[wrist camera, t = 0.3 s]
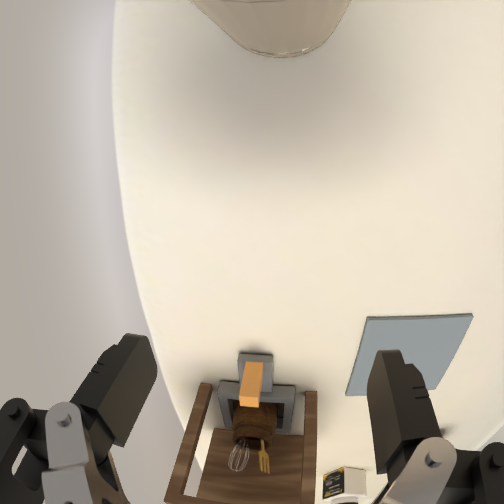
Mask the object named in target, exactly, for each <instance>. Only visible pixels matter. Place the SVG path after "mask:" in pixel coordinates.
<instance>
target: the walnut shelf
mask: <svg viewBox="0 0 504 504" xmlns="http://www.w3.org/2000/svg"><path fill="white" fill-rule="evenodd" d="M211 394H212V386H211V384H205V383H200V387H199V390H198V393H197V396H196V399H195V402H194V405H193V409H192V412H191V415H190V418H189V421H188V424H187V428H186V431H185V434H184V437H183V440H182V443H181V447H180V450H179V453H178V456H177V459H176V463H175V466H174V469H173V472H172V476H171V479H170V482H169V485H168V488H167V492H166V495H165V498H164V502H165V503H166V504H314V502H315V483H316V457H317V391H306V395H305V416H304V436H293V435H272V436H271V437H272V442H271V445H270V447H268V448H267V449H265V452H266V453H267V454H268V456H269V468H270V474H268V472H267V465H266V473H265V472H264V467H263V471H261V470H260V462H259V453H258V452H259V451H262V450H248V449H247V452H246V449H243V448H241V447H239V448H238V446H237V445H235V444H234V443H233V440H232V435H233V432H234V431H230V430H222V429H215V428H214V430H213V434H212V438H211V442H210V446H209V450H208V454H207V458H206V462H205V465H204V469H203V473H202V477H201V481H200V485H199V489H198V493H197V497H191V496H186V495H183V494H184V490H185V486H186V483H187V479H188V476H189V472H190V468H191V465H192V461H193V458H194V454H195V451H196V447H197V444H198V440H199V436H200V433H201V429H202V426H203V422H204V419H205V415H206V412H207V408H208V404H209V401H210V397H211ZM234 448H236V449H234ZM233 449H234V450H235V451H234V450H233ZM242 449H243V450H242ZM236 450H237V451H236ZM240 450H241V451H240ZM232 451H233V452H234V453H233V452H232ZM235 452H236V453H235ZM239 452H240V454H239ZM231 453H232V454H231ZM241 453H242V454H241ZM234 454H235V455H234ZM230 455H231V456H230ZM232 455H233V456H232ZM238 455H239V456H238ZM245 455H247V457H246V456H245ZM248 455H249V457H248ZM240 456H241V457H240ZM233 457H234V458H233ZM229 458H230V459H229ZM231 458H232V459H231ZM237 458H238V459H237ZM244 458H245V459H246V460H245V459H244ZM239 459H240V460H239ZM232 460H233V461H232ZM247 460H248V461H247ZM230 461H231V463H232V465H231V466H230ZM236 461H237V462H236ZM243 461H244V462H245V463H244V462H243ZM228 462H229V465H228ZM238 462H239V463H238ZM246 462H247V463H246ZM242 464H243V465H244V466H243V465H242ZM235 465H236V466H235ZM237 465H238V466H237ZM245 465H246V466H245ZM262 465H263V459H262ZM231 467H232V469H233V470H232V469H231ZM240 467H241V468H240ZM242 467H243V468H244V469H243V468H242ZM239 468H240V469H239ZM234 469H235V470H236V471H234ZM238 469H239V470H240V471H239V470H238Z"/></svg>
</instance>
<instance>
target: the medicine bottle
mask: <svg viewBox="0 0 504 504" xmlns="http://www.w3.org/2000/svg"><path fill="white" fill-rule="evenodd" d="M365 496H366V471H365V470H360V469H354V468H347V467H342V468H340V469H338V470H335V471H333V472H331V473H328V474H326V475H324V476H323V501H328V502H332V503H331V504H358V500H357V499H359V498H362V497H365Z"/></svg>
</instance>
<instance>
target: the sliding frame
mask: <svg viewBox="0 0 504 504" xmlns="http://www.w3.org/2000/svg"><path fill="white" fill-rule="evenodd" d="M237 362H238V371H239V380H240V383H234V382H225V381H220V384H219V388H218V392H217V394H218V398H219V403H220V407H221V411H222V416H223V420H224V424H225V427H228V428H233V418H234V408H233V402H232V399H235V400H239V401H240V406H248V407H259V402H271V403H285V405H284V417H283V418H277V422H276V429H275V432H287V433H290V430H291V423H292V415H293V407H294V399H295V387H294V386H273V356H266V355H251V354H239V356H238V360H237Z"/></svg>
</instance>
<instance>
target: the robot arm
mask: <svg viewBox="0 0 504 504" xmlns="http://www.w3.org/2000/svg"><path fill="white" fill-rule="evenodd" d="M189 1H190V2H191V3H192V4H194V5H195V6H196V7H197V8H199V9H200V10H201V11H202V12H203V13H204V14H206V15H207V16H208V17H209V18H210V19H211V20H213V21H214V22H215V23H216V24H217V25H218V26H219V27H220V28H221V29H223V30H224V31H225V32H226V33H227V34H228V35H229V36H230V37H231V38H232V39H233V40H234V41H235V42H237V43H238V44H240V45H241V46H242V47H244V48H245V49H247V50H249V51H252V52H254V53H256V54H259V55H263V56H267V57H277V58H285V57H295V56H298V55H302V54H306V53H308V52H310V51H312V50H314V49H316V48H318V47H319V46H320V45H321V44H323V43H324V42H325V41H326V40H327V39H328V38H329V36H330V35H331V34H332V33H333V31H334V29H335V28H336V26H337V24H338V23H339V21H340V19H341V18H342V16H343V14H344V13H345V11H346V9H347V8H348V6H349V4H350V3H351V1H352V0H189ZM156 377H157V364H156V361H155V358H154V355H153V352H152V349H151V346H150V342H149V340H148V338H147V337H146V336H142V335H136V334H130V333H127V334H125V335H124V336H123V338H122V339H121V341H120V342H119V344H118V345H115V344H114V345H113V346H111V347H110V348H108V349H107V350H106V351H104V352H103V354H102V355H101V356H100V358H99V359H98V361H97V364H95V365H94V366H93V368H92V370H91V372H89V374H88V375H87V377H86V378H85V380H84V381H83V382H82V384H81V385H80V387H79V388H78V390H77V391H76V393H75V394H74V396H73V398H72V399H71V400H70V402H61V403H58V404H56V405H54V406H52V407H51V408H50V410H38V409H31V408H30V406H29V405H28V404H27V402H26V401H25V400H24V399H21V398H13V399H11V400H9V401H7V402H6V403H5V404H4V405H3V407H2V408H1V410H0V504H42V503H43V501H44V499H45V502H46V504H130V502H129V501H128V500H127V498H126V496H125V494H124V492H123V489H122V486H121V483H120V481H119V477H118V474H117V471H116V468H115V465H114V461H113V458H112V454H111V452H110V448H111V446H112V444H114V445H117V446H120V447H124V445H125V443H126V441H127V439H128V437H129V435H130V432H131V430H132V428H133V426H134V424H135V422H136V420H137V418H138V415H139V413H140V411H141V409H142V407H143V405H144V403H145V400H146V399H147V397H148V394H149V393H150V390H151V388H152V386H153V384H154V382H155V380H156ZM367 400H368V406H369V413H370V420H371V427H372V435H373V443H374V451H375V460H376V470H377V474H385V473H387V477H388V482H387V483H386V485H385V486H384V487H383V489H382V490H381V492H380V493H379V494H378V496H377V497H376V498H375V500H374V501H373V502H372V504H504V444H503V443H500V442H494V443H491V444H489V445H487V446H486V447H485V448H484V449H483V450H482V451H467V450H458V449H455V448H454V446H453V445H452V444H451V443H450V442H449V441H448V440H446V439H444V438H442V436H441V433H440V430H439V426H438V423H437V419H436V416H435V413H434V409H433V406H432V403H431V400H430V398H429V394H428V391H427V388H426V385H425V382H424V379H423V376H422V373H421V372H420V371H419V370H418V369H417V368H416V367H415V365H414V364H413V363H411V364H405V362H404V359H403V356H402V353H401V351H400V350H399V349H395V350H378V351H377V353H376V356H375V359H374V363H373V366H372V369H371V372H370V375H369V378H368V382H367ZM22 446H25V448H27V452H26V454H25V456H24V457H23V459H22V461H21V463H20V465H19V467H18V469H17V471H16V473H15V475H13V474H12V465H13V463H14V461H15V460H16V458H17V456H18V454H19V452H20V450H21V448H22Z"/></svg>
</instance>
